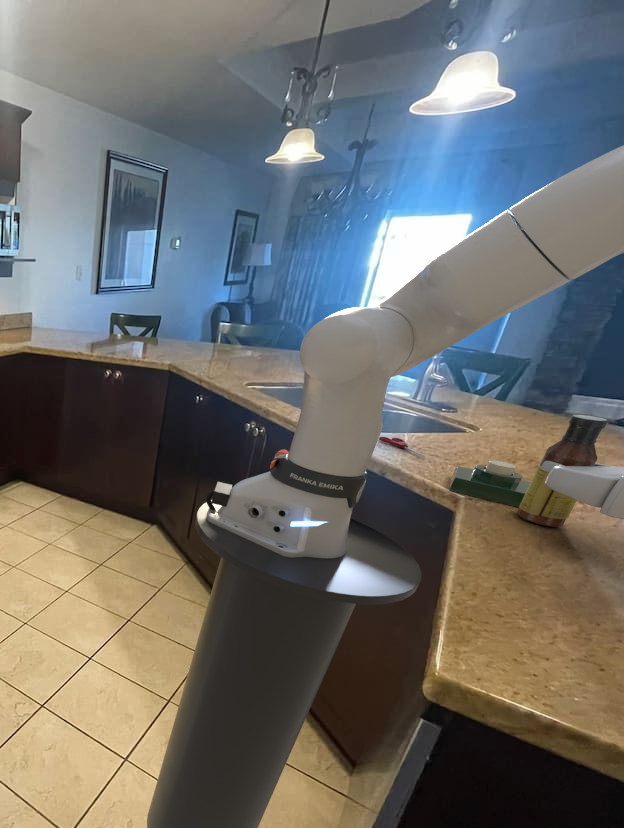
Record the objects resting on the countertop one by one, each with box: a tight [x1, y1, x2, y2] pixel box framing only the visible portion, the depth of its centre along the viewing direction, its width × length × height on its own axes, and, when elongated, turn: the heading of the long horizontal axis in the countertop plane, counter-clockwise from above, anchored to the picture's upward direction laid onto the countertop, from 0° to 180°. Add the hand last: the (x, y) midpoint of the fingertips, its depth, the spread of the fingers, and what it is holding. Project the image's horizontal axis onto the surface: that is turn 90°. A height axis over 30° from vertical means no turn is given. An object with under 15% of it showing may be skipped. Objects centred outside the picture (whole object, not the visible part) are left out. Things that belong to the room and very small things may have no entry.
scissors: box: [378, 436, 424, 457], centre depth 127 cm, size 5×14×1 cm, turn 173°
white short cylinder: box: [485, 459, 517, 476], centre depth 100 cm, size 4×4×2 cm
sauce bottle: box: [517, 414, 608, 528], centre depth 87 cm, size 6×6×20 cm
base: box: [448, 464, 531, 508], centre depth 102 cm, size 12×10×5 cm
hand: (563, 464), depth 87 cm, fingers closed on sauce bottle, 6 cm apart
